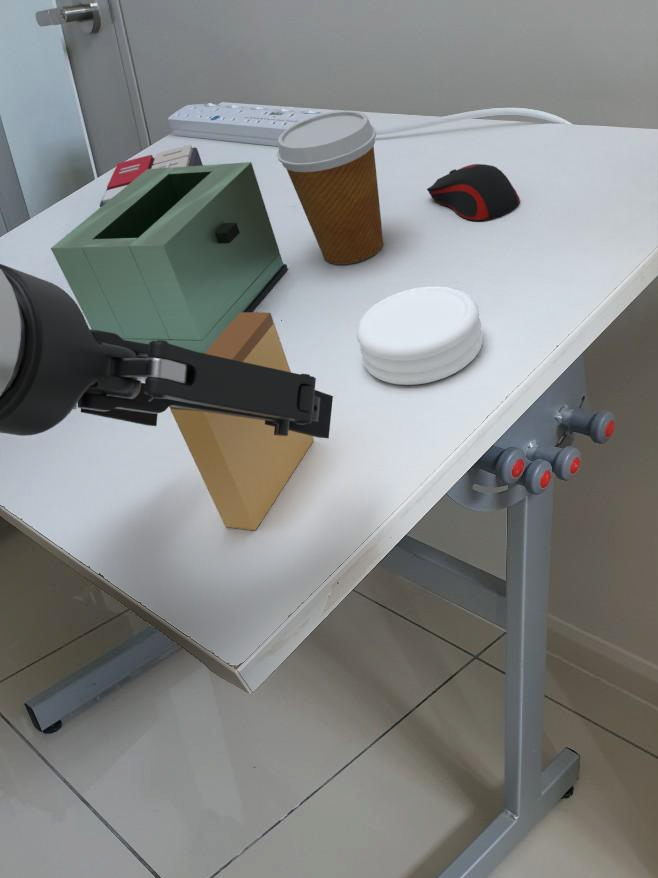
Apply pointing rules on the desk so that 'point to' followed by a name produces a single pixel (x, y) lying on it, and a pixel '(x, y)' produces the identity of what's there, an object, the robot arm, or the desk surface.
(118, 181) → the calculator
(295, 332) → the desk surface
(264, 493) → the toast
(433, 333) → the white round container
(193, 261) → the toaster
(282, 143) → the disposable coffee cup
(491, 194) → the computer mouse
